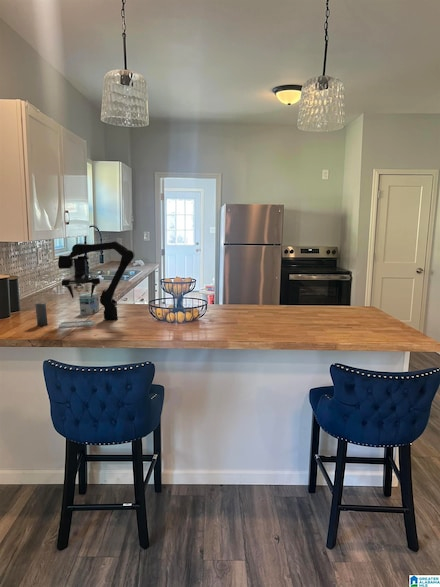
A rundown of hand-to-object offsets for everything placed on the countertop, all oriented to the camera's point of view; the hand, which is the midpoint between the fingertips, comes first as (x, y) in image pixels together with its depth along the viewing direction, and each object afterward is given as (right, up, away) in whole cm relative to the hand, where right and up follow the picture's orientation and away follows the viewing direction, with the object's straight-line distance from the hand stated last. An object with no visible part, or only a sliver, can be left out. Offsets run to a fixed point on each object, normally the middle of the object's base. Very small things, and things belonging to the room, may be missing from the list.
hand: (82, 297), depth 218 cm
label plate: (0, -13, -7) cm, 15 cm away
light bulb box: (-3, -9, +22) cm, 24 cm away
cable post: (-18, -14, -7) cm, 24 cm away
